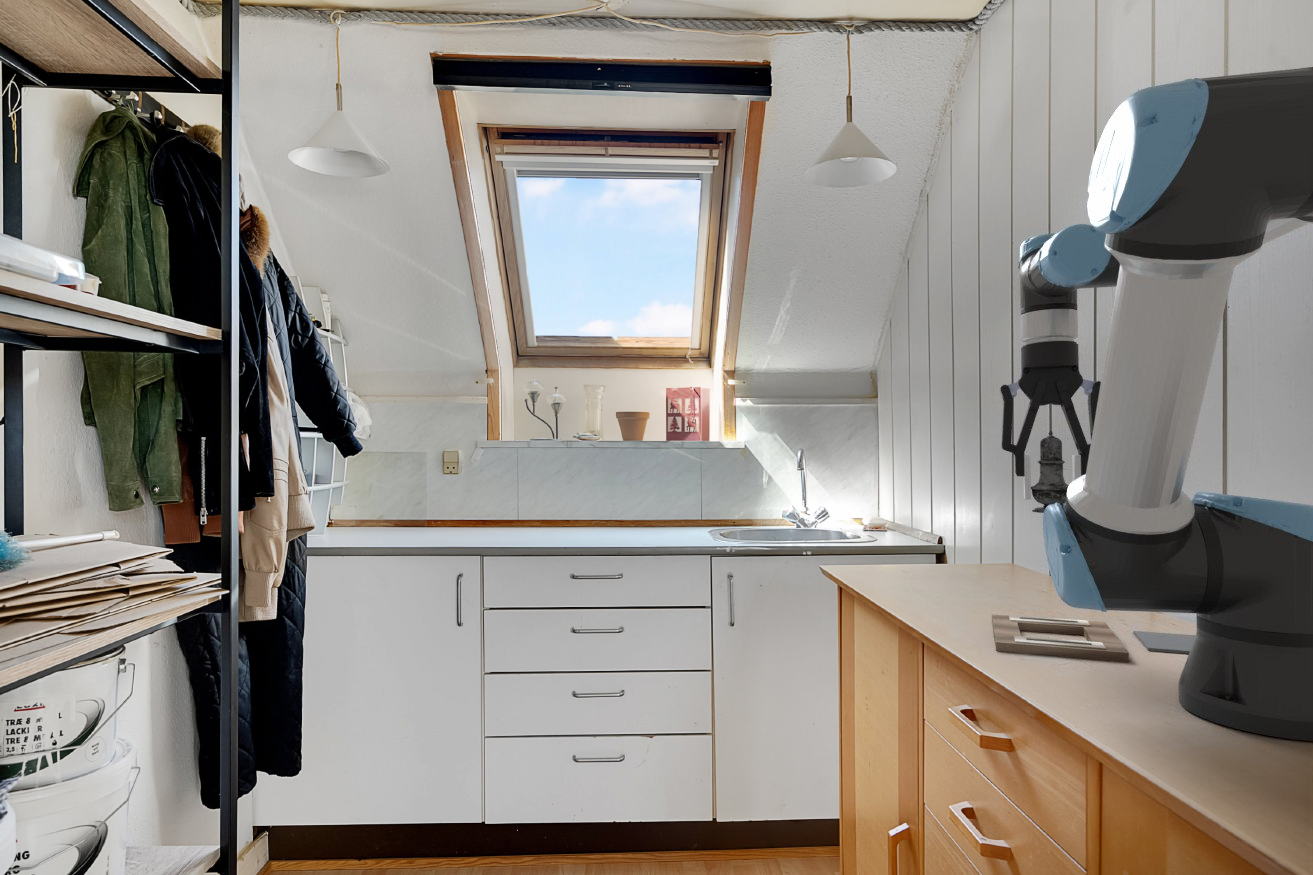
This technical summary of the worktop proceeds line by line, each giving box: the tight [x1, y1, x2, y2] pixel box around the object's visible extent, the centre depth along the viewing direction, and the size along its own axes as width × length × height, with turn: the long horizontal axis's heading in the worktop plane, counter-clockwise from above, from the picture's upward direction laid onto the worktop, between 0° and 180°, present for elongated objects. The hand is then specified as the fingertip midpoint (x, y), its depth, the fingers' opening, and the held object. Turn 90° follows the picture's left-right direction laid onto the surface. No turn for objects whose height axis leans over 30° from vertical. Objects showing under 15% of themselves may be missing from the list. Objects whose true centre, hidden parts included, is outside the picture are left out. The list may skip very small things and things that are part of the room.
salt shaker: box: [1031, 430, 1070, 514], centre depth 110 cm, size 6×6×12 cm
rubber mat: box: [1132, 630, 1196, 655], centre depth 106 cm, size 10×10×1 cm
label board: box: [991, 614, 1130, 663], centre depth 110 cm, size 18×16×2 cm
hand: (1052, 498), depth 110 cm, fingers closed on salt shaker, 6 cm apart
